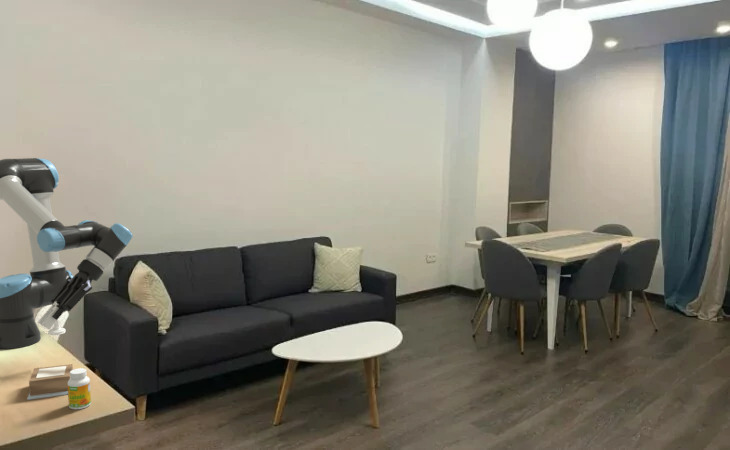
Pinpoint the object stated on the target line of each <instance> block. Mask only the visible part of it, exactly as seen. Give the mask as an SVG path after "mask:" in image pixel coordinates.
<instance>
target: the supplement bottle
mask: <svg viewBox="0 0 730 450" xmlns="http://www.w3.org/2000/svg"><path fill="white" fill-rule="evenodd" d="M73 369H74V370H72V371H70V378H71V379H69V381H68V394H67V396H68V407H69V409H71V410H82V409H85V408H87V407H90V406H91V404H92V394H91V379H90V377H89V376H87V373H88V372H87V369H86V368H83V367H79V368H73Z"/></svg>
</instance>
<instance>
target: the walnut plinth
mask: <svg viewBox="0 0 730 450" xmlns="http://www.w3.org/2000/svg"><path fill="white" fill-rule="evenodd" d="M73 369H74V368H73V363H72V364H71V363H70V364H62V365H53V366H45V367H37V368H33V370H32V373H31V376H30V378H29V381H28V385H29V392H30V396H34V395H41V394H49V393H56V392H64V391H68V381H69V379H71V378H70V371H72V370H73Z"/></svg>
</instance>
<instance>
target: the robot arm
mask: <svg viewBox="0 0 730 450" xmlns="http://www.w3.org/2000/svg"><path fill="white" fill-rule="evenodd" d="M59 177H60V176H59V172H58V170H57V168H56V166H55V164H53V163H52V162H51V160H48V159H46V158H38V157H33V158H32V157H31V158H30V157H29V158H28V157H27V158H2V159H0V200H3V201H4V203H5V204H7V205H8V206H9V208H11V209H12V210H13V211H14V212H15V213H16V214H17V215H18V216H19V218H21V219H22V220H23V221H24V222H25V224H26V226H27V232H28V238H29V244H30V245H29V246H30V252H31V256H32V263H33V266H32V268H31V269H30V270H29V273H18V274H10V275H7V276H3V277H0V350H1V349H2V350H8V349H11V350H12V349H16V348H23V347H27V346H28V347H29V346H30V345H34V344H36V343H38V342H39V341H40V340H41V338H42V337H41V336H42V335H41V331H40V329H39V327H38V325H37V323H38V324H39V325H41V326H43V328H46V329H48V330H51V329H52V328H53V327H54V323H55V322H56V321H57V320H59V318H60V317H61V316H63V314H64V313H65V312H67V311H68V312H71V310H72V309H73V308H74V307H75V306H76V305H77V304H78V303H79V302H80V301H81V300H82V299H83V297H85V295H86V294H88V293H89V292H90V291H91V290H92V289H93V286H92V285H91V284H92V282H98V280H99V279H100V278H101V277H102V276H103V275H104V271H107V270H108V268H109V267H111V265H112V263H113V262H114V261H115V260H116V258H117V257H119V255H120V254H121V253H122V251H123V250H124V249H125V248H126V247H128V245H129V243H130V241H131V240H132V239H133V233H132V232H131V231H130V230H129V229H128V228H127V227H126V226H124V225H123V224H121V223H118V222H116V223H113V225H111V226H110V227H108V226H105V225H103V224H101V223H99V222H97V221H95V220H90V219H87V220H82V221H80V222H79V223H78V224H76V225H75V224H74V225H64V224H63V223H62V222H61V221H59V219H57V218H56V216H54V215H53V210H52V203H51V198H52V196H53V195H54V194H55V192H54V190H55V189H57V187H58V185H59V181H60V178H59ZM85 247H92V249H91V250H90V251H89V252H88V253H87V254H86V255H85V258H84V259H82V260H81V261H80V263H79V264H78V265H77V267H76V268H77V270H78V272H76V273H75V275H73V273H72V272H71V271H70V270H67V269H66V265H65V264H63V263H62V262H61V260H60V254H59V253H60V251H65V250H73V249H77V248H85ZM54 302H57V304H59V305H57V307H56V308H55V309H54V310H52V308H53V307H55V305H53V303H54ZM47 306H50V307H49V308H48V309H47V310H46V312H45V313H43V315H42V317H40V319H39V320H38V321H37V322H36V319H35V316H34V309H38V308H43V307H47Z"/></svg>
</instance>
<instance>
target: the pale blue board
mask: <svg viewBox="0 0 730 450" xmlns="http://www.w3.org/2000/svg"><path fill="white" fill-rule="evenodd" d="M74 369H75V368H73V370H74ZM58 396H68V391H64V392H56V393H49V394H41V395H34V396H30V391H29V393H28V396H27V400H28V401H29V400H36V399H44V398H51V397H58Z"/></svg>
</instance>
